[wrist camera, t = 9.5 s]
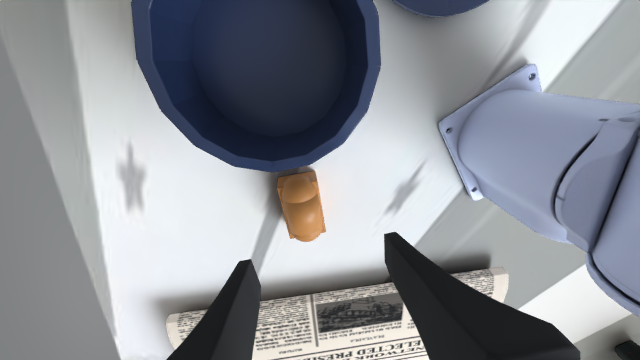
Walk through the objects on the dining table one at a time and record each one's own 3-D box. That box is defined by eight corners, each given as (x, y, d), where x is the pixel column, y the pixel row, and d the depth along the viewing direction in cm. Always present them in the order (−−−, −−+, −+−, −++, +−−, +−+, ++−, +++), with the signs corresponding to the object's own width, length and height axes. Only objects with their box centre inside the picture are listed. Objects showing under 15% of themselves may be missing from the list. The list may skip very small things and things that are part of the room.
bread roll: (323, 223, 23) (328, 245, 20) (291, 229, 23) (291, 252, 20) (313, 165, 20) (317, 181, 17) (276, 171, 20) (274, 189, 17)
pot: (386, 40, 17) (427, 32, 12) (297, 167, 20) (300, 202, 15) (233, -103, 13) (197, -206, 8) (156, 85, 16) (99, 96, 11)
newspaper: (495, 259, 28) (515, 279, 26) (462, 351, 37) (474, 372, 34) (173, 305, 26) (161, 331, 23) (220, 392, 34) (214, 418, 32)
